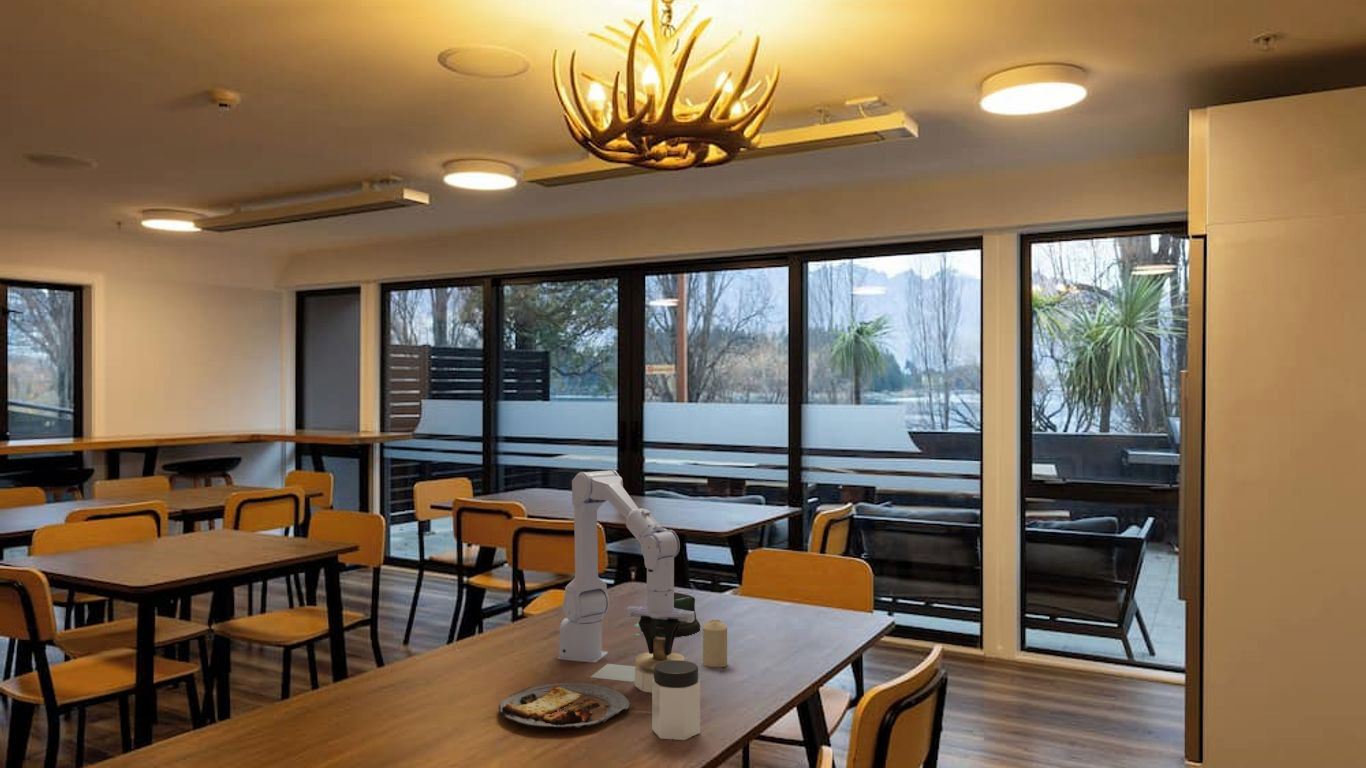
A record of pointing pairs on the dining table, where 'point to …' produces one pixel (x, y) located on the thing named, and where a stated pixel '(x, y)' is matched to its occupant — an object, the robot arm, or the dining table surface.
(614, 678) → the mat
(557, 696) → the food plate
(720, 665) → the candle
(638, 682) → the bowl
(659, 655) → the lid
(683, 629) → the black rounded piece
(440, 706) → the dining table surface
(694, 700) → the jar
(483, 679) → the dining table surface
